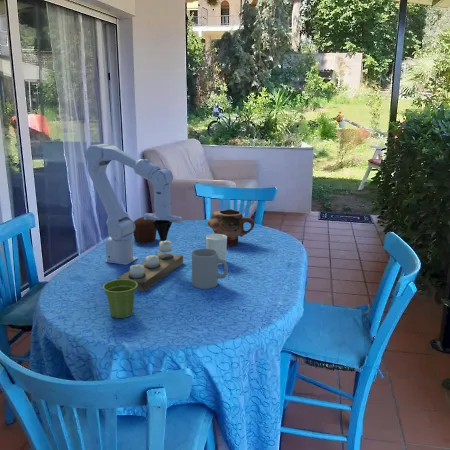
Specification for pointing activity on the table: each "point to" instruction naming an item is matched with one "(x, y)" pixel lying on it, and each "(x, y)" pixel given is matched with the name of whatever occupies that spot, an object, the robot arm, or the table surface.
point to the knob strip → (155, 271)
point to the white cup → (217, 244)
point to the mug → (206, 268)
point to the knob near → (137, 271)
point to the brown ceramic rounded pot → (230, 225)
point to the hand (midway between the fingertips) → (163, 240)
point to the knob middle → (152, 261)
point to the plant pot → (120, 297)
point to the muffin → (144, 230)
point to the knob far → (165, 246)
